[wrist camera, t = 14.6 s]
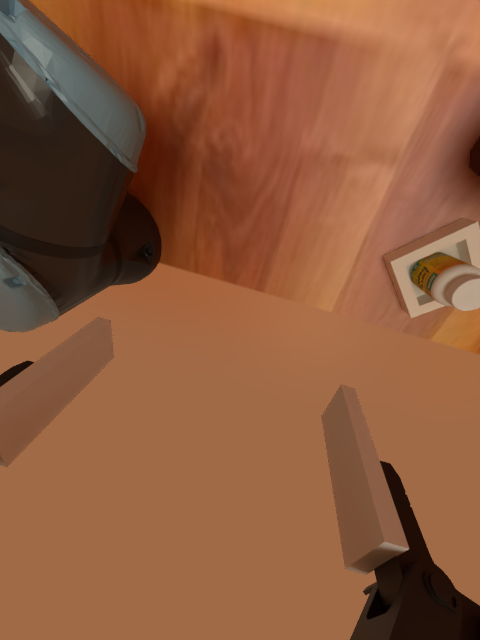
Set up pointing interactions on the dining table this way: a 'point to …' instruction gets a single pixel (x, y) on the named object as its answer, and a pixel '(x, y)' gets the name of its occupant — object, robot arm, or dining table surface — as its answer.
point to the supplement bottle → (448, 280)
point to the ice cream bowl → (475, 158)
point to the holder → (452, 240)
